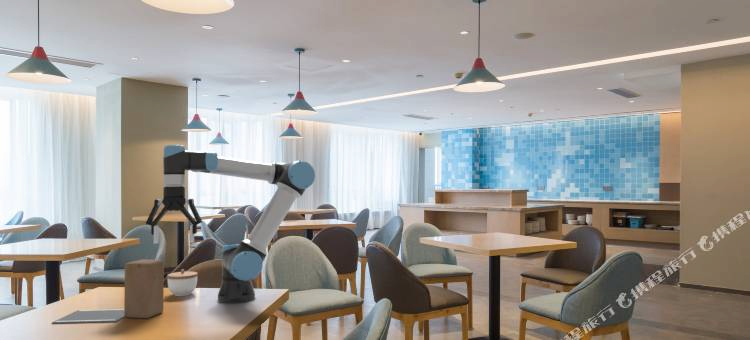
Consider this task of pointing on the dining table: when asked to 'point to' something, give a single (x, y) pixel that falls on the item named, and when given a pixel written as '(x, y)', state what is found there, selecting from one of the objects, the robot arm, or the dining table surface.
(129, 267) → the wooden block
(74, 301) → the dining table surface
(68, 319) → the mat
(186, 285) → the lidded bowl
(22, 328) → the dining table surface
